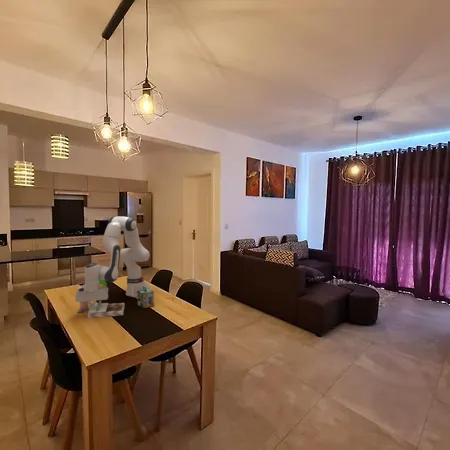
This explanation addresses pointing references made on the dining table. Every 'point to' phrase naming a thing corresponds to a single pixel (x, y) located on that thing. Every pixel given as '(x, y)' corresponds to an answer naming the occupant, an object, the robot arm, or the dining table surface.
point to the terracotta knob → (84, 306)
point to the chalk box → (145, 298)
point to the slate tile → (83, 311)
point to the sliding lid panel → (99, 308)
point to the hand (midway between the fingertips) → (92, 306)
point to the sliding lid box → (109, 311)
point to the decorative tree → (102, 283)
